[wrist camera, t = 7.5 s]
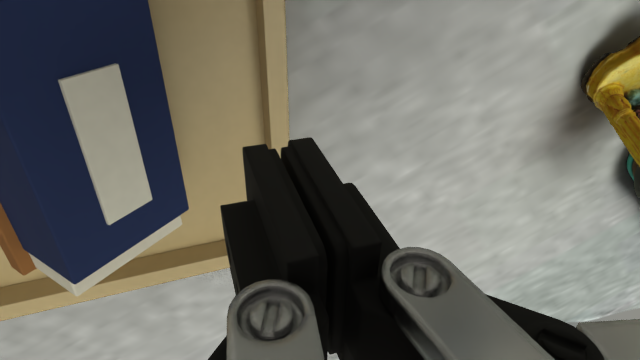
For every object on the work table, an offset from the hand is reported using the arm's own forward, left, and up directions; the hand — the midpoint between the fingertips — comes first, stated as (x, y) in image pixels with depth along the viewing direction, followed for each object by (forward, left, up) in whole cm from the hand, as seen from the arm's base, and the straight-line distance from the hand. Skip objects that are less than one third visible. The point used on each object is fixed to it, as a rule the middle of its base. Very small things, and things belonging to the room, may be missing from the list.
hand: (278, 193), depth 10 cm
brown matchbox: (0, -4, -10) cm, 11 cm away
